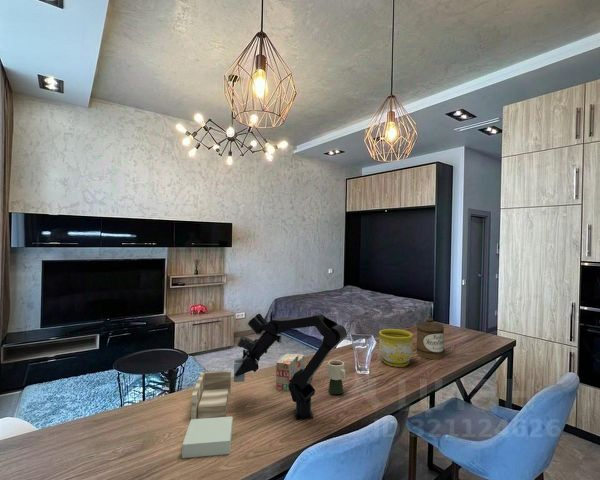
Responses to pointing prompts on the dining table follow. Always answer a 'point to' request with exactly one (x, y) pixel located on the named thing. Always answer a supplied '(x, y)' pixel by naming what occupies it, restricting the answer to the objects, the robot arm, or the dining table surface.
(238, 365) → the slate block
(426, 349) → the wooden container
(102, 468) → the dining table surface
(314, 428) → the dining table surface
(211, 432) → the pad
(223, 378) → the beige stepped piece
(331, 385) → the character mug
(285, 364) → the stack of blocks
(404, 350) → the flowerpot
